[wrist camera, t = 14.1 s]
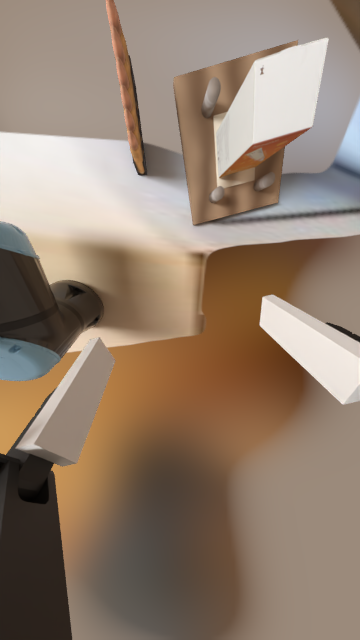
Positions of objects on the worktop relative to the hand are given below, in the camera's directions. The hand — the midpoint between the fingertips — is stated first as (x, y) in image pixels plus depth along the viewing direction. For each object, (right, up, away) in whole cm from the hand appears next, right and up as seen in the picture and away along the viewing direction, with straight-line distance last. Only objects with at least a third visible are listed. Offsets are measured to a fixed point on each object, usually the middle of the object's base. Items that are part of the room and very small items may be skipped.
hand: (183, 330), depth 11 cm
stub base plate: (+11, +35, +17) cm, 40 cm away
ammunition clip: (-8, +36, +15) cm, 39 cm away
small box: (+11, +34, +16) cm, 39 cm away
